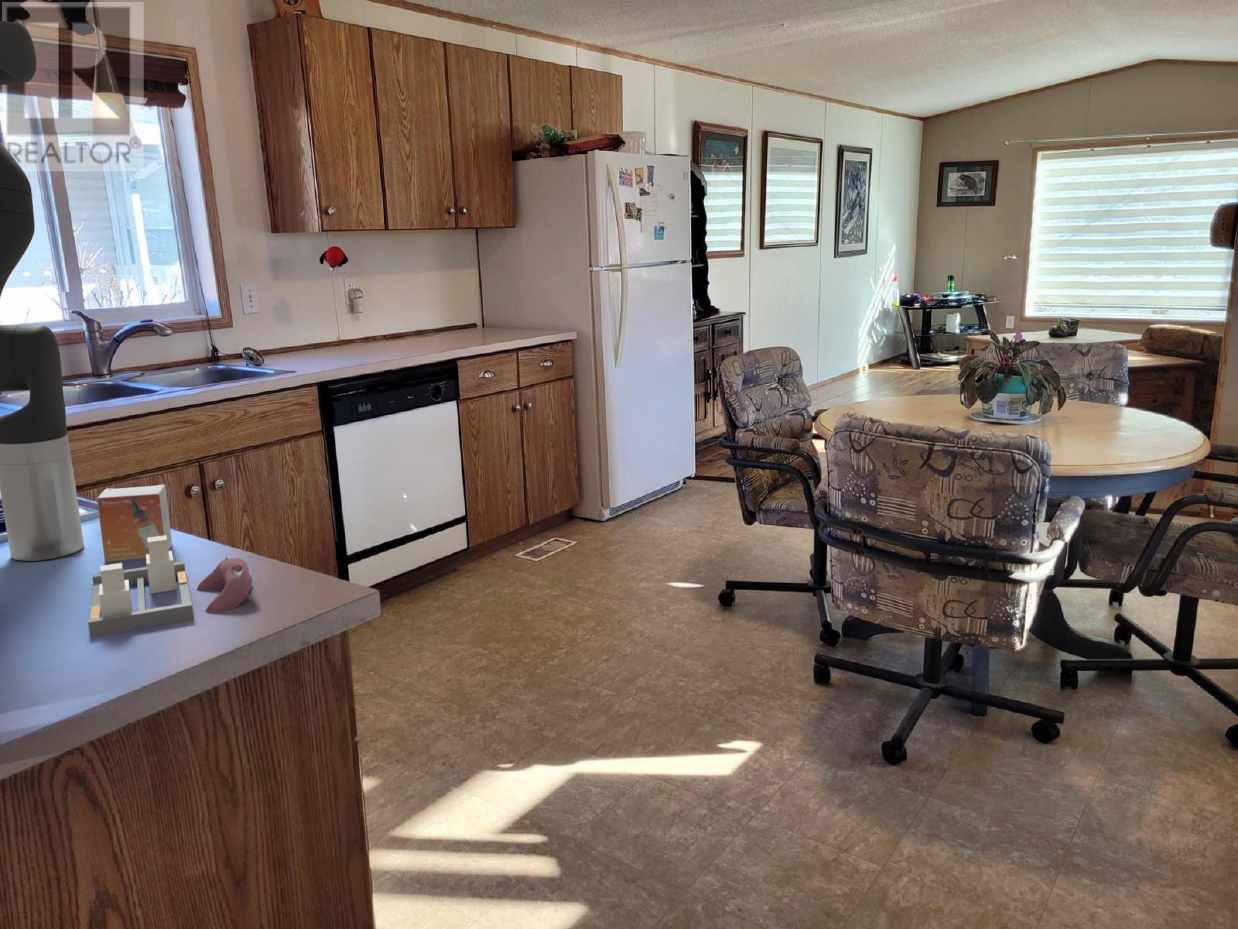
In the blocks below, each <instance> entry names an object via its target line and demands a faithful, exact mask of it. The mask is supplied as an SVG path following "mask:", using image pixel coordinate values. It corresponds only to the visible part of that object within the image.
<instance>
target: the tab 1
mask: <svg viewBox="0 0 1238 929" xmlns="http://www.w3.org/2000/svg"><path fill="white" fill-rule="evenodd" d="M99 569H100V570H99V574H101V580H102V584H100V588H99V599H100V606H101V613H102V617H105V616H111V615H117V614H123V613H129V612H134V607H133V602H132V594H131V593H132V592H131V588H130V585H129V580H124V573H123V570H124V566H123V562H119V563H111V564H104V565H100V568H99Z"/></svg>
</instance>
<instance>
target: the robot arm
mask: <svg viewBox="0 0 1238 929" xmlns="http://www.w3.org/2000/svg"><path fill="white" fill-rule="evenodd" d="M34 44H35V43H34V41H33V39H32V36H31V33H30V32H29V30H28V28H27V27H26V25H25V24H24V23H23V22H22V21H21V20H20V21H14V22H8V21H0V85H1V86H2V85H3V86H15V85H16V86H17V85H23V84H25V83H28V82H30V81H31V80H32V79H33V77H35V74H36V71H37V54H36V48H35V45H34ZM33 202H34V201H33V192H32V186H31V183H30V180H29V178H28V176H27V175H26V173H25V171H24V170H23V169H22V167H21V166H20V164H19V163H18V161H17V160H16V159H15V158H14V156H13V155H12V153H10V152H9V151H8V149H7V148H6V147H5V146H4V144H3V143H2V142H1V141H0V298H1V296H2V293H3V290H4V288H5V286H6V283H7V282H8V279H9V278H10V276H11V274H12V273H13V271H14V270H15V268H16V267H17V266H18V264H19V262H20V261H21V259H22V258H23V256H24V255H25V253H26V251H27V249H28V248H29V246H30V244H31V242H32V240H33V237H34V235H35V231H36V230H35V229H36V228H35V227H36V226H35V223H36V222H35V215H34V214H35V213H34V203H33ZM60 352H61V351H60V347H59V343H58V341H57V337H56V335H55V333H54V332H53V330H52V329H50V328H49V327H48V326H47V325H42V324H0V392H20V391H21V392H24V391H25V392H26V391H29V400H28V403H27V404H26V405H25V406H23V407H22V408H20V409H18V410H15V411H13V412H10V413H8V414H4V415H2V416H0V498H1V503H2V504H1V506H2V510H3V515H4V517H3V518H4V523H5V528H6V535H7V542H8V547H9V553H10V557H11V559H13V560H16V561H22V562H23V561H24V562H35V561H45V560H52V559H57V558H60V557H61V558H62V557H66V556H68V555H72V554H74V553H76V552H78V551H81V550H82V549H83V548H84V546H85V543H84V536H83V529H82V524H81V514H80V508H79V503H78V495H77V488H76V482H75V476H74V475H75V474H74V468H73V462H72V455H71V448H70V441H69V436H68V428H67V415H66V414H67V412H66V402H65V394H64V387H63V386H64V385H63V374H62V370H63V369H62V360H61V353H60Z"/></svg>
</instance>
